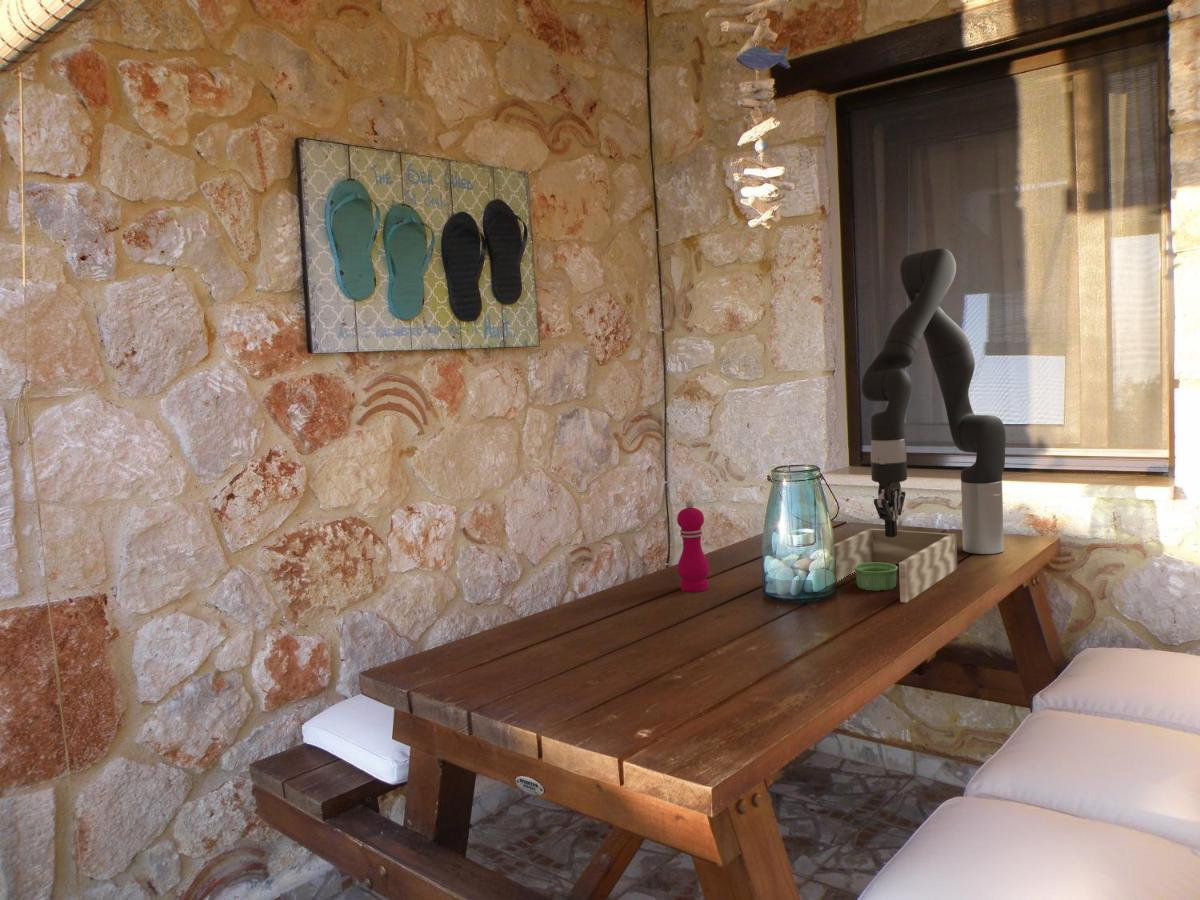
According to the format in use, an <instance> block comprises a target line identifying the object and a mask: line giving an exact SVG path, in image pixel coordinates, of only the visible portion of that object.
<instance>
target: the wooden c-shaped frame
mask: <svg viewBox="0 0 1200 900" xmlns="http://www.w3.org/2000/svg"><path fill="white" fill-rule="evenodd" d="M957 543H958V542H957V533H947V532H931V531H916V530H915V531H914V530H900V529H897V536H895V537H886V536H885V528H883V529H882V528H867V529H865V530H863V531H860V532H859V533H856V534H855V535H852V536H850V537H848V538H846V539H844V540H841V541H839V542H836V543H834V544H833V545H834V547H835V560H836V578H837V582H836V583H839V582H840V581H841V579H842V580H844V579H845V578H844V577H846V576H848V575H849V574H851V575H853V574H855V573H856V572H855V570H854V567H855V566H856V565H858V564H862V563H869V562H881V563H889V564H894V565H896V564H898V565H897V566H898V574H899V577H898V578H899V600H900V601H899V602H900V603H904V604H905V603H906V604H907V603H908V602H910V601H912V600H913V599H915V598H916V597H917V596H919V595H920V594H922V593H923V592H925V591H926V590H928V589H929V588H931V587H933V586H934V585H935V584H937V583H938V582H940V581H941V580H943V579H944V578H947V576H948V575H950V574H952V573H953V572H954V571H956V570H957V569H958V551H957V550H958V548H957V547H958V546H957ZM854 572H855V573H854ZM852 573H853V574H852ZM849 576H850V575H849ZM849 576H848V577H849ZM843 578H844V579H843ZM846 578H847V577H846ZM839 580H840V581H839Z"/></svg>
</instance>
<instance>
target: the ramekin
mask: <svg viewBox="0 0 1200 900" xmlns="http://www.w3.org/2000/svg"><path fill="white" fill-rule="evenodd" d="M854 570H855V579H856V585H857V587H858V588H860V589H862V590H864V589H865V591H871V590H872V592H873V591H875V592H881V591H880V590H884V591H890V590H893V589H895V588H894V587H896V586H897V572H898V571H899V566H898V565H896V564H889V563H881V562H869V563H862V564H858V565H856V566H855V567H854ZM889 589H890V590H889Z"/></svg>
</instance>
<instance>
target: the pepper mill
mask: <svg viewBox="0 0 1200 900" xmlns="http://www.w3.org/2000/svg"><path fill="white" fill-rule="evenodd" d="M685 506H686V508H683V509H681V510H680V511H679V512H678V514H677V518H676V522H677V524H678V526H679V528H680V530H679V532H680V534H679V535H680V537H681V538H682V552H681V555H680V557H679V560H678V564H677V568H676V569H677V572H676V573H677V575H678V576H679V577H680V578H681V579H682V580H681V581H680V582H679V583H680V584H679V585H680V587H679V588H680V590H681V591H682V592H688V593H698V592H705V591H706V590H708V589H709V580H708V579H706V578H707V577H708V575H709V574H710V572H711V569H710V564H709V562H708V559H707V557H706V556H705V553H704V551H703V549H702V542H701V540H702V536H703V535H704V533H703V529H702V526H703V524H704V522H705V517H704V514H703V511H701V510H700V509H699V508H696V507H694V502H693V501H692V500H688V501H687V502H685Z"/></svg>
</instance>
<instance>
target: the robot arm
mask: <svg viewBox="0 0 1200 900" xmlns="http://www.w3.org/2000/svg"><path fill="white" fill-rule="evenodd" d="M899 267H900V268H899V269H900V270H899V271H900V279H901V282H902V285H903V289H904V291H905V293H906V295H907V297H908V299H909V302H910V304H909V306H908V307H907V308H905V310H904V311H903V312H901V314H900V315H899V317H897V319H895V321H894V323H892V326H891V327H890V329H889V331H888V335H886V339H885V342H884V344H883V348H882V350H881V351H880V353H879V354H878V355H877V356H876V357H875V359H874V360H873V362H871V364H870V365H869V367H868V368H867V369H866V370H865V372H864V375H863V377H862V380H861V386H860V387H861V392H862V395H863V397H864V399H867V400H868V401H870V402H887V406H886V409H885V410H884V411H881V412H877V413H874V414H873V415H872V416H871V418H870V432H871V433H870V436H871V438H870V439H871V443H870V444H871V445H870V465H871V466H870V467H871V468H870V471H871V480H872V481H873V482H875V483H878V490H877V496H878V497H877V498H874V499H873V505H874V507H875V509H876V512H877V515H878V517H879V519H880V520H883V521H884V529H885V536H886V537H895V536H897V530H898V519H899V516H901V515H902V510H903V507H904V503H905V499H906V491H902V486H901V483H902V482H905V481H907V479H908V469H907V468H908V467H907V447H906V438H905V419H906V413H907V409H908V405H909V402H910V401H909V400H910V397H911V392H912V380H911V376H910V375H909V373H907V371H906V370H904V369H905V368H908V367H910V365H911V364H913V361H914V359H915V357H916V353H917V351H918V350H919V349H918V348H919V346H920V344H921V340H922V339H923V337H924V340H925V344H926V347H927V351H928V354H929V357H930V361H931V365H932V367H933V369H934V373H935V375H936V378H937V382H938V385H939V389H940V393H941V395H942V399H943V402H944V406H945V412H946V416H947V421H948V427H949V431H950V434H951V438H952V441H953V444H954V445H955V446H956V448H957V449H958V450H959V451H961V452H965V453H972V454H973V453H974V454H976V457H975V458H976V459H975V462H974V463H973V464H972V465H970V466H968V467H965V468H963V469H961V471H960V485H961V486H960V487H961V488H960V489H961V521H962V523H961V524H962V550H963V552H965V553H970V554H977V555H978V554H979V555H992V554H994V555H995V554H1000V553H1003V552H1004V549H1005V548H1004V547H1005V545H1004V544H1005V543H1004V541H1005V540H1004V505H1003V504H1004V503H1003V499H1004V498H1003V472H1004V469H1005V465H1006V428H1005V425H1004V422H1003V421H1002V419H1001V418H1000V417H999V416H996V415H991V414H988V415H987V414H975V413H974V411H973V408H972V405H971V402H970V397H969V396H970V395H969V391H970V386H971V382H972V379H973V376H974V372H975V368H976V367H975V366H976V361H975V357H974V353H973V349H972V347H971V343H970V340H969V338H968V336H967V334H966V332H965V331H964V330H963V329H962V328H961V327H960V325H958V323H956V322H955V321H954V320H953V319H952V318H951V317H950V316H949V315H947V314H946V313H945V311H944V310H943V309H942V308H941V306H940V305H941V302H942V301H943V299H944V297H945V296H946V294H947V293H948V291H949V289H950V287H951V285H952V284H953V282H954V279H955V277H956V273H957V263H956V259H955V257H954V255H953V253H952V252H951V251H950V250H949V249H946V248H944V247H941V248H933V249H929V250H924V251H918V252H914V253H911V254H909V255H908V254H907V255H906V256H905V257H903V258H902V260H901V262H900V266H899Z"/></svg>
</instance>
